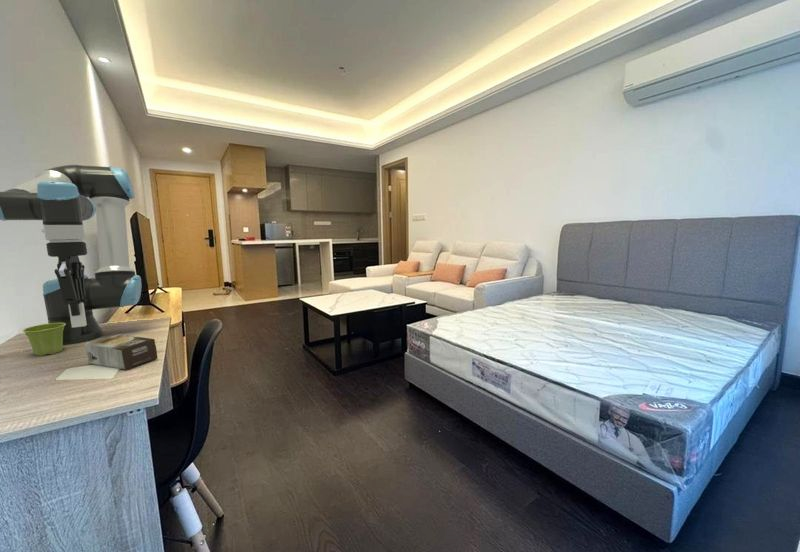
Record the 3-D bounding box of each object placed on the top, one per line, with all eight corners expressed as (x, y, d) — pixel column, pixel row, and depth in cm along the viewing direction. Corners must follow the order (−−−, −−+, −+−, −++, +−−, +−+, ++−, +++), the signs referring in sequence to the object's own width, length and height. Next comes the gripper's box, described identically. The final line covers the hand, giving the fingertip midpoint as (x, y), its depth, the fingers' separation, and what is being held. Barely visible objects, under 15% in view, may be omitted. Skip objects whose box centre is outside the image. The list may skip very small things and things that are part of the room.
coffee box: (118, 333, 103) (156, 337, 98) (121, 352, 104) (158, 358, 99) (83, 343, 94) (122, 349, 89) (87, 364, 95) (126, 370, 90)
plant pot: (77, 347, 110) (73, 322, 109) (47, 358, 101) (42, 331, 100) (50, 347, 111) (46, 322, 109) (18, 358, 101) (13, 331, 100)
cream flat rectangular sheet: (67, 370, 92) (66, 368, 92) (125, 360, 98) (125, 359, 98) (37, 398, 77) (36, 396, 76) (109, 385, 83) (109, 383, 83)
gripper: (57, 241, 91) (70, 322, 95) (34, 242, 80) (50, 334, 83) (92, 240, 95) (103, 318, 98) (76, 241, 84) (89, 330, 87)
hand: (79, 326), depth 91 cm, fingers closed
